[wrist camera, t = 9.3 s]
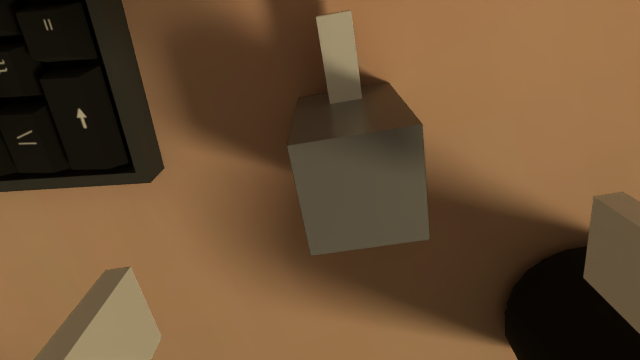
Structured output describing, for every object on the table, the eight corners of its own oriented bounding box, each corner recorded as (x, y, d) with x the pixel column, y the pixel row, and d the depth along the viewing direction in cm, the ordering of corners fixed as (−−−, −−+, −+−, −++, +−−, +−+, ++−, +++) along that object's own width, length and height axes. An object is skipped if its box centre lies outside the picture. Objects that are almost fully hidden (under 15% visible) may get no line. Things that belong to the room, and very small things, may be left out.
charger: (314, 178, 24) (310, 255, 16) (284, 21, 20) (262, 32, 13) (396, 165, 23) (429, 239, 16) (381, 3, 20) (415, 4, 12)
